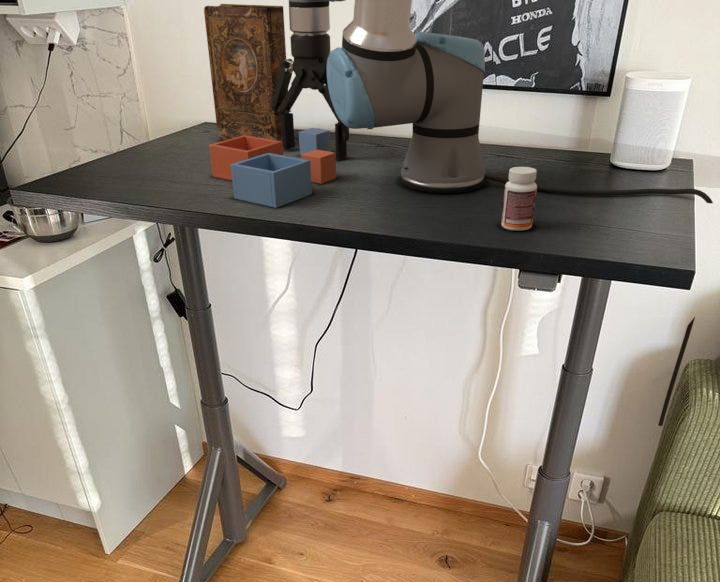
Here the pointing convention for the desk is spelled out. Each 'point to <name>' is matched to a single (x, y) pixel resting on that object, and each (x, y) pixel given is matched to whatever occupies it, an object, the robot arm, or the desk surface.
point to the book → (245, 68)
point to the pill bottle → (519, 199)
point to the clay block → (321, 165)
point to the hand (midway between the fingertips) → (314, 153)
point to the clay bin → (240, 152)
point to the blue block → (314, 140)
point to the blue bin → (271, 179)
